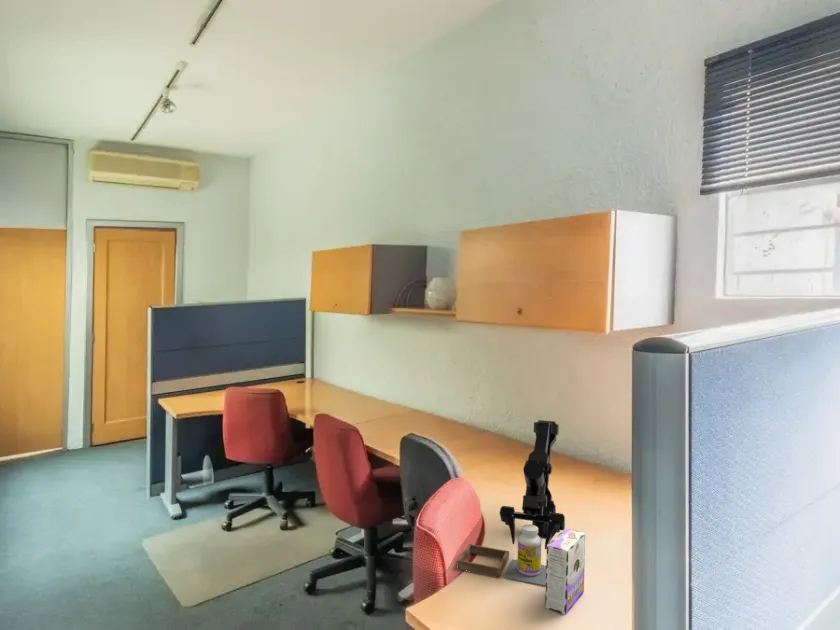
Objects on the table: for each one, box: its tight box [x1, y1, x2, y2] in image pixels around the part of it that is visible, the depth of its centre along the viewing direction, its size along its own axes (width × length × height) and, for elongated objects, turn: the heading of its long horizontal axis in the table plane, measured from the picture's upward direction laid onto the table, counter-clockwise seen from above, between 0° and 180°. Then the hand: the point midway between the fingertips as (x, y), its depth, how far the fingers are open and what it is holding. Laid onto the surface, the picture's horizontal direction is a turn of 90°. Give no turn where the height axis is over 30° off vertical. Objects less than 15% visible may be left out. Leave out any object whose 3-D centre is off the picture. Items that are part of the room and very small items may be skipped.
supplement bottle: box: [517, 524, 542, 576], centre depth 161 cm, size 7×7×13 cm
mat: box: [503, 559, 546, 588], centre depth 161 cm, size 12×12×1 cm
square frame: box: [456, 543, 510, 579], centre depth 166 cm, size 13×13×2 cm
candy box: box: [544, 528, 586, 616], centre depth 147 cm, size 14×6×16 cm, turn 145°
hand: (529, 546), depth 160 cm, fingers open, 9 cm apart
